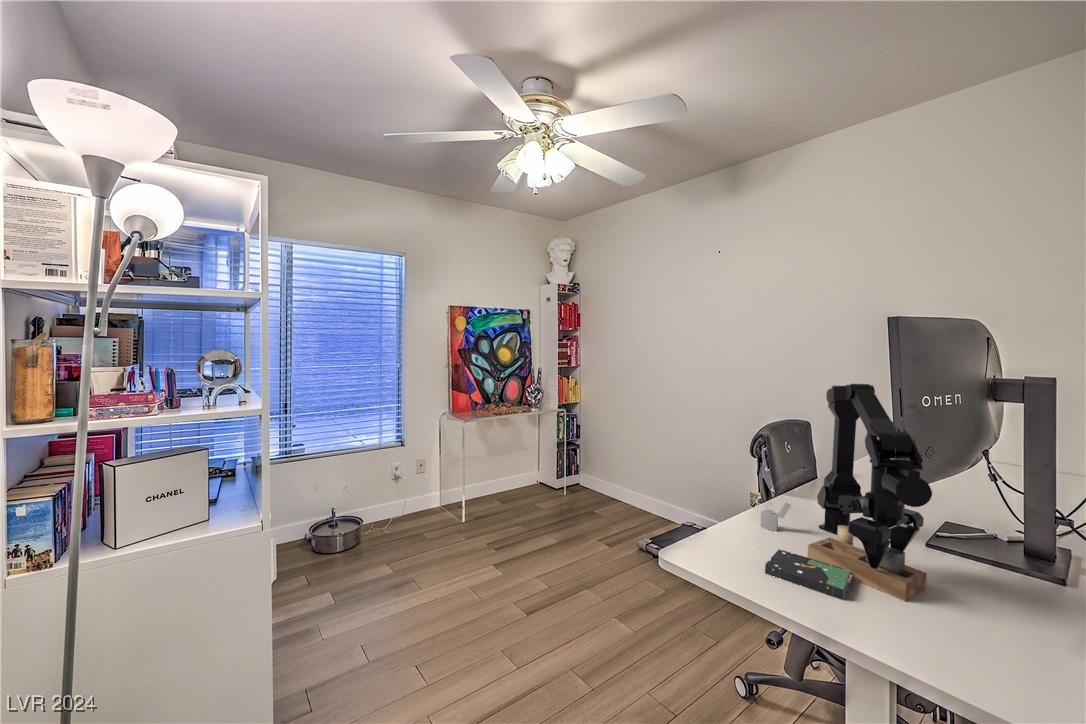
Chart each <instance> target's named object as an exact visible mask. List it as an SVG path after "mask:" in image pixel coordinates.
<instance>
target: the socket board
mask: <svg viewBox="0 0 1086 724" xmlns="http://www.w3.org/2000/svg"><path fill="white" fill-rule="evenodd" d="M807 558H810V559H814V560H817V561H820V562H824V563H827V564H830V565H834V566H838V567H841V568H843V569H846V570H849V571H851V572H853V574H854V579H853V581H857V582H859V583H861V584H864V585H865V586H869V587H870V588H873V589H876V590H877V591H880V592H882V593H885V594H887V595H889V596H891V597H894V598H896V599H898V600H901V601H903V602H906V601H908V600H910V599H911V598H913V597H915V596H917V595H920V594H921V593H922V591H923V592H924V591H926V590H927V578H928V577H927V574H928V573H927V572H925V571H922V570H920V569H918V568H915V567H911V566H908V565H907V564H905V568H904V577H902V576H900V575H897V574H894V573H892V572H889V571H887V570H884V569H882V568H879V567H878V568H877V569H874V568H872V567H870V564H869V563H866V552H865V549H864V548H860V547H857V546H854V545H853V546H852V545H849V544H847V543H844V542H841V541H839V540H837V538H834V537H831V536H830V537H827V538H823V539H821V540H819V541H814V542H813V543H810V544H808V545H807ZM920 592H921V593H920Z"/></svg>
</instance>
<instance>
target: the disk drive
mask: <svg viewBox="0 0 1086 724" xmlns="http://www.w3.org/2000/svg"><path fill="white" fill-rule="evenodd" d="M765 573H766V574H765ZM764 574H765V575H767V574H769V575H768V576H770V575H771V577H773V576H775V577H774V578H776V577H777V578H776V579H779V578H781V579H780V580H782V579H783V581H785V580H786V581H785V582H788V581H789V583H791V582H792V584H794V583H795V584H794V585H798V586H800V585H801V587H803V588H806V589H810V590H811V591H815V592H817V593H821V594H823V595H826V596H828V597H832V598H836V599H838V600H842V601H845V600H846V598H847V596H848V594H849V592H850V590H851V588H852V585H853V584H854V574H853V572H851V571H849V570H846V569H843V568H841V567H838V566H834V565H830V564H827V563H824V562H820V561H817V560H814V559H810V558H808V556H803V555H799V554H796V553H793V552H790V551H786V550H782V549H777V551H776V552H775V553H774V554H772V556H771V557H770V560H767V562H766V563H765V565H764Z"/></svg>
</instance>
